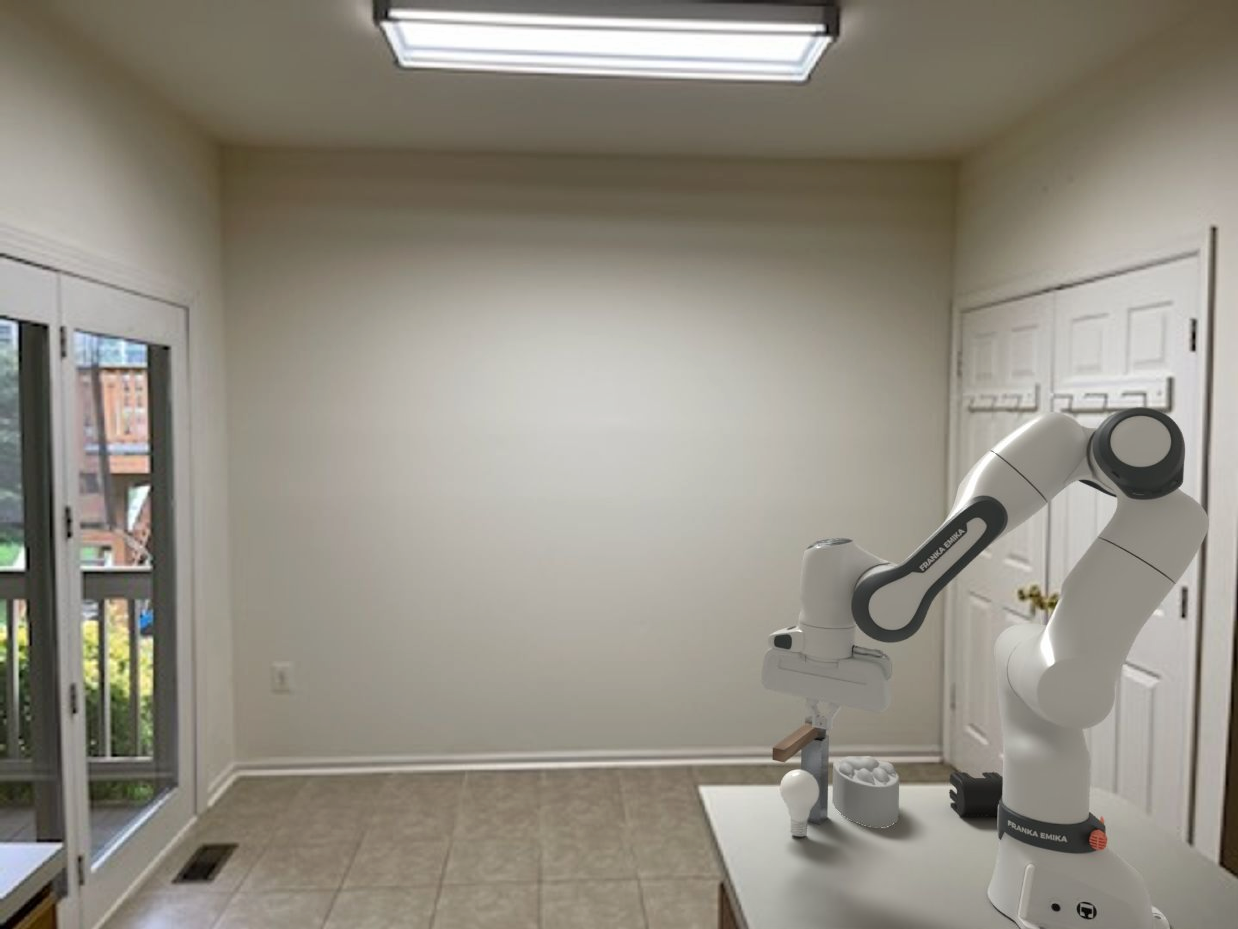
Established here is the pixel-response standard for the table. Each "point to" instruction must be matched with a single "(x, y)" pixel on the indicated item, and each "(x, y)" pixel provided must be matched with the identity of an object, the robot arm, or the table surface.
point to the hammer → (797, 741)
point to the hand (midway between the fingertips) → (822, 728)
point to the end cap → (976, 794)
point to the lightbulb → (799, 798)
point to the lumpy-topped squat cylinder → (866, 790)
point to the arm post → (817, 774)
